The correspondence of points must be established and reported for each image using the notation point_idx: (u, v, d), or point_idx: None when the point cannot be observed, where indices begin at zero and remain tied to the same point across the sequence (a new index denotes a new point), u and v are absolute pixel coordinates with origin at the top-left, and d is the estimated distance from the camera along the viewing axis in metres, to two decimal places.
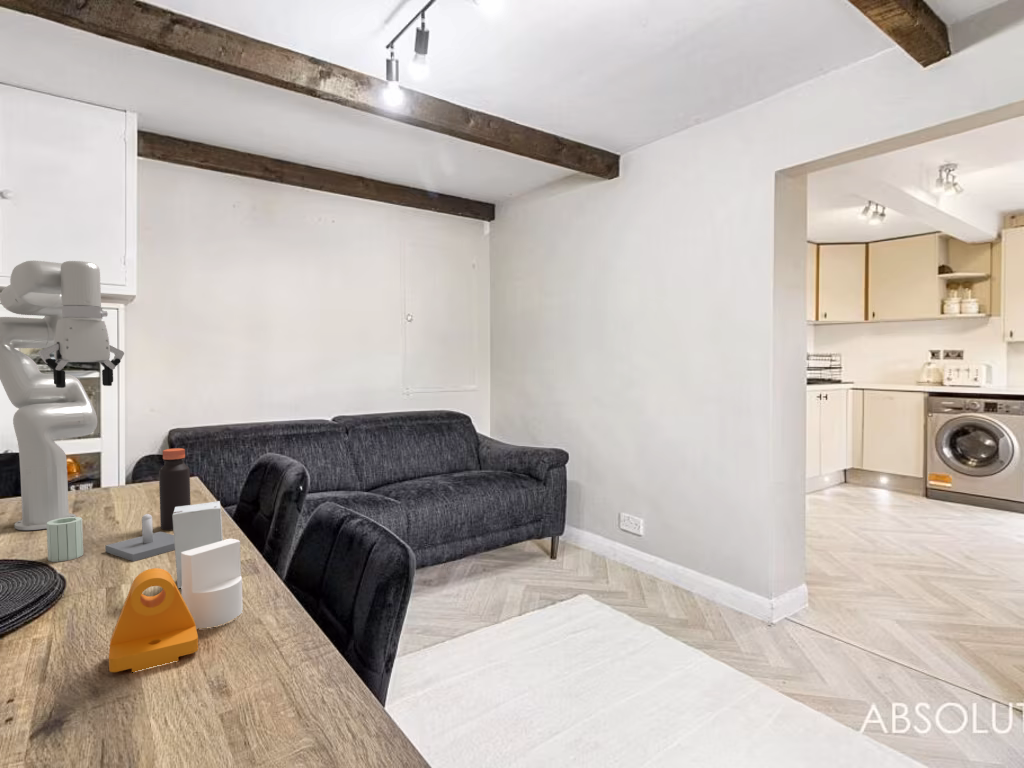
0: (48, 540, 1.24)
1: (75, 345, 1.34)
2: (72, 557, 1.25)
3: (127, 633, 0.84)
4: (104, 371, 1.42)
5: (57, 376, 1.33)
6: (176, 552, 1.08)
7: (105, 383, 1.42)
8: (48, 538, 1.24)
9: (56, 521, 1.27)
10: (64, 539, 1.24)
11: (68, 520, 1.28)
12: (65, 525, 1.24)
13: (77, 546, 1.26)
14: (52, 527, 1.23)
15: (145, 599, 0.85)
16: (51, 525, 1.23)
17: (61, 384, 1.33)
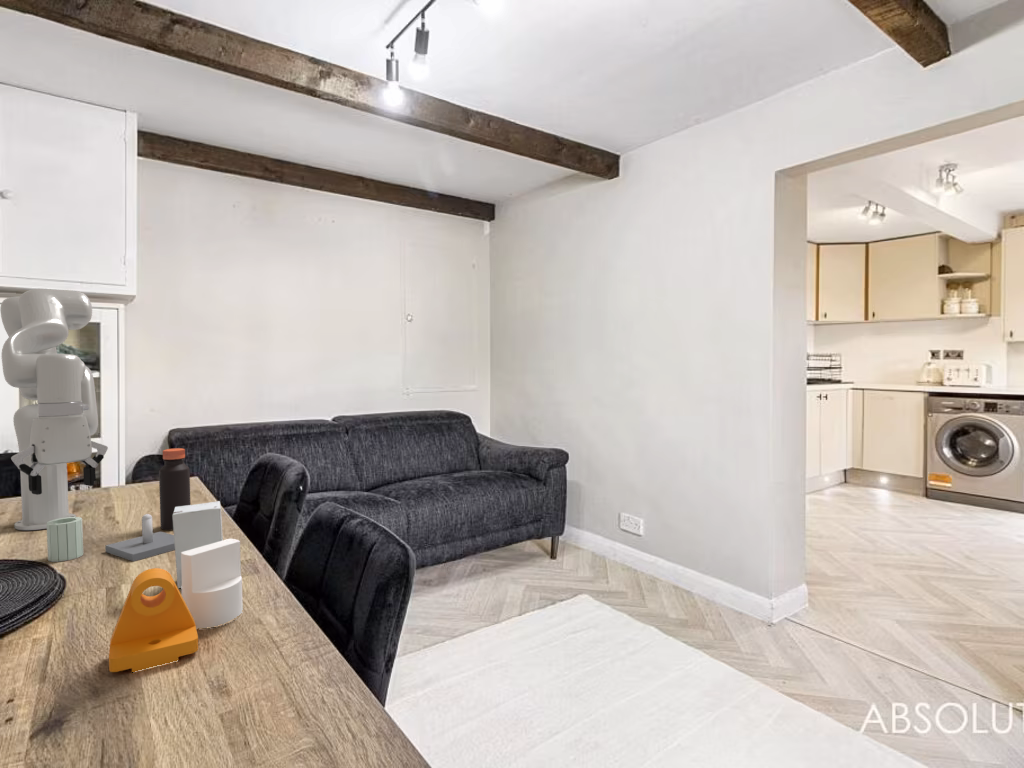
0: (48, 540, 1.24)
1: (53, 446, 1.22)
2: (72, 557, 1.25)
3: (127, 633, 0.84)
4: (85, 470, 1.30)
5: (32, 482, 1.20)
6: (176, 552, 1.08)
7: (87, 483, 1.29)
8: (48, 538, 1.24)
9: (56, 521, 1.27)
10: (64, 539, 1.24)
11: (68, 520, 1.28)
12: (65, 525, 1.24)
13: (77, 546, 1.26)
14: (52, 527, 1.23)
15: (145, 599, 0.85)
16: (51, 525, 1.23)
17: (37, 491, 1.21)
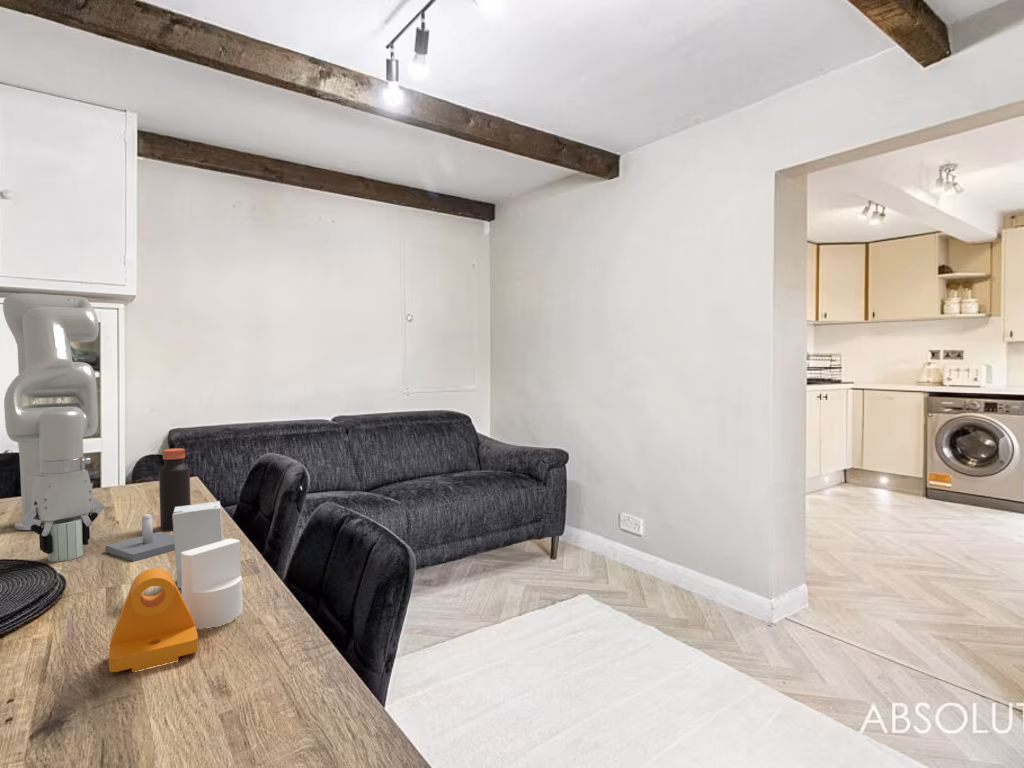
0: None
1: (55, 503, 1.23)
2: (72, 557, 1.25)
3: (127, 633, 0.84)
4: None
5: (43, 542, 1.23)
6: (176, 552, 1.08)
7: None
8: None
9: (56, 521, 1.27)
10: (64, 539, 1.24)
11: (68, 520, 1.28)
12: (65, 525, 1.24)
13: (77, 546, 1.26)
14: (52, 527, 1.23)
15: (145, 599, 0.85)
16: None
17: (48, 550, 1.23)
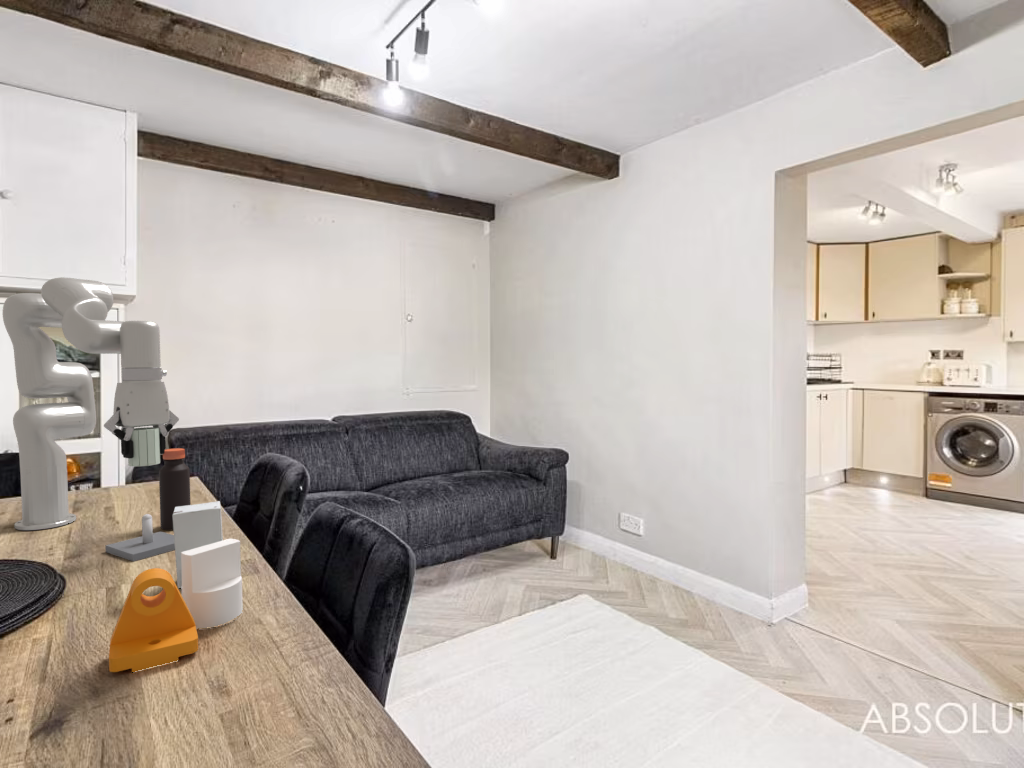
0: None
1: (136, 409, 1.27)
2: (151, 463, 1.29)
3: (127, 633, 0.84)
4: None
5: (125, 446, 1.27)
6: (176, 552, 1.08)
7: None
8: None
9: (135, 429, 1.31)
10: (144, 445, 1.28)
11: (146, 429, 1.32)
12: (145, 431, 1.28)
13: (156, 453, 1.30)
14: (133, 433, 1.28)
15: (145, 599, 0.85)
16: None
17: (129, 455, 1.27)
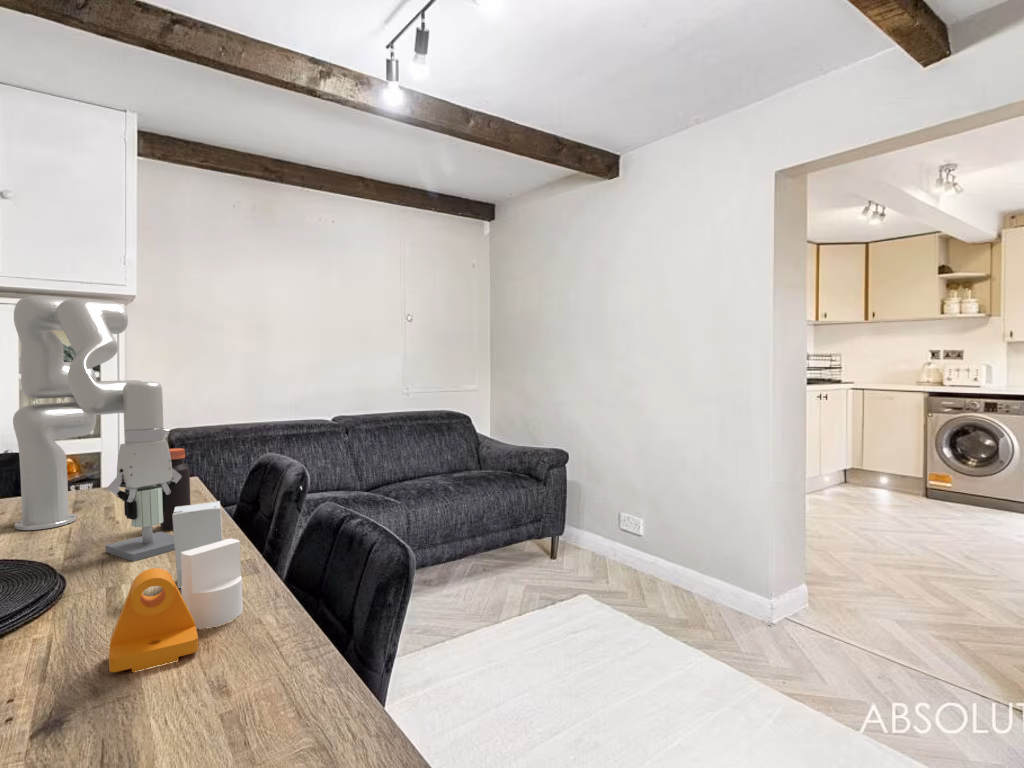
0: None
1: (139, 471, 1.28)
2: (155, 523, 1.30)
3: (127, 633, 0.84)
4: None
5: (128, 508, 1.27)
6: (176, 552, 1.08)
7: None
8: None
9: (138, 489, 1.32)
10: (148, 505, 1.29)
11: (149, 488, 1.33)
12: (148, 492, 1.29)
13: (159, 513, 1.31)
14: (136, 494, 1.28)
15: (145, 599, 0.85)
16: None
17: (132, 516, 1.28)
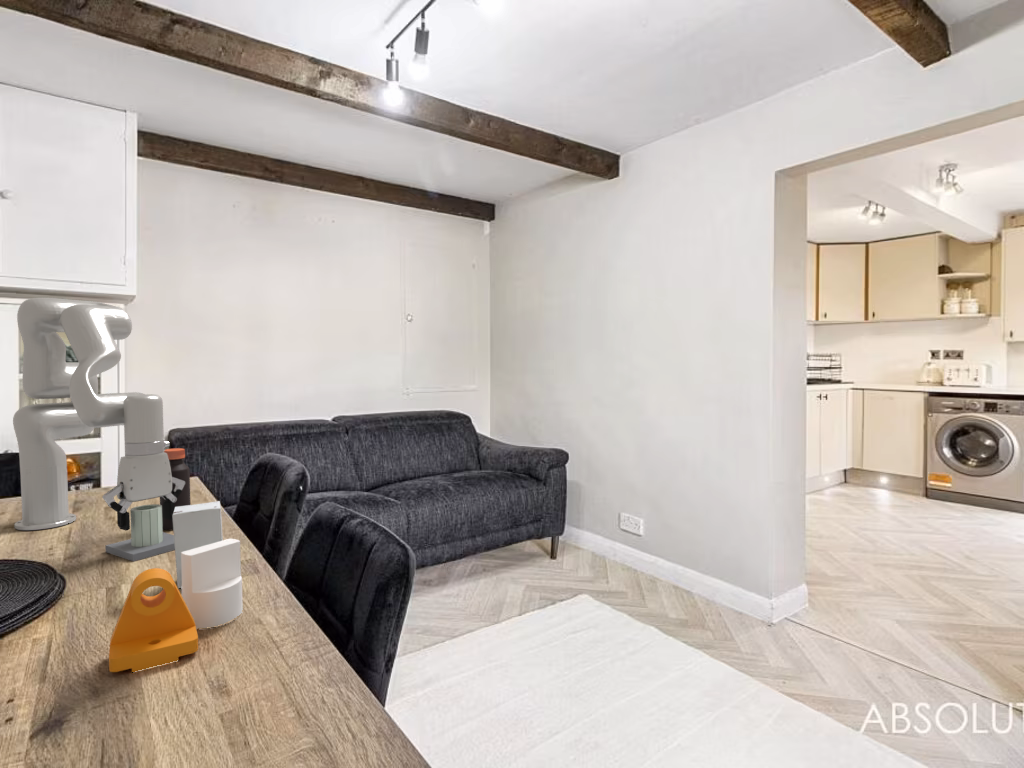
0: (132, 526, 1.29)
1: (139, 484, 1.28)
2: (154, 542, 1.30)
3: (127, 633, 0.84)
4: (165, 504, 1.35)
5: (121, 519, 1.26)
6: (176, 552, 1.08)
7: (166, 517, 1.35)
8: (132, 524, 1.29)
9: (138, 508, 1.32)
10: (147, 525, 1.29)
11: (148, 507, 1.33)
12: (148, 512, 1.29)
13: (159, 532, 1.31)
14: (136, 513, 1.28)
15: (145, 599, 0.85)
16: (135, 511, 1.29)
17: (125, 527, 1.27)
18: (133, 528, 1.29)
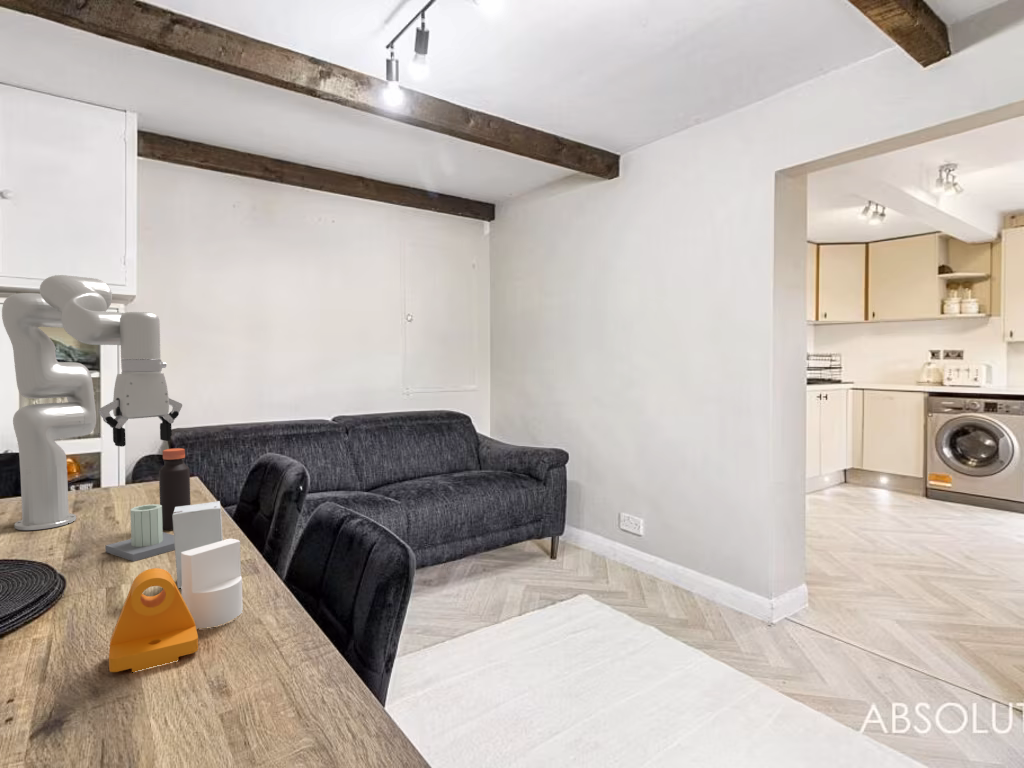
0: (132, 526, 1.29)
1: (136, 401, 1.27)
2: (154, 542, 1.30)
3: (127, 633, 0.84)
4: (162, 425, 1.35)
5: (117, 434, 1.25)
6: (176, 552, 1.08)
7: (163, 438, 1.35)
8: (132, 524, 1.29)
9: (138, 508, 1.32)
10: (147, 525, 1.29)
11: (148, 507, 1.33)
12: (148, 512, 1.29)
13: (159, 532, 1.31)
14: (136, 513, 1.28)
15: (145, 599, 0.85)
16: (135, 511, 1.29)
17: (121, 443, 1.26)
18: (133, 528, 1.29)
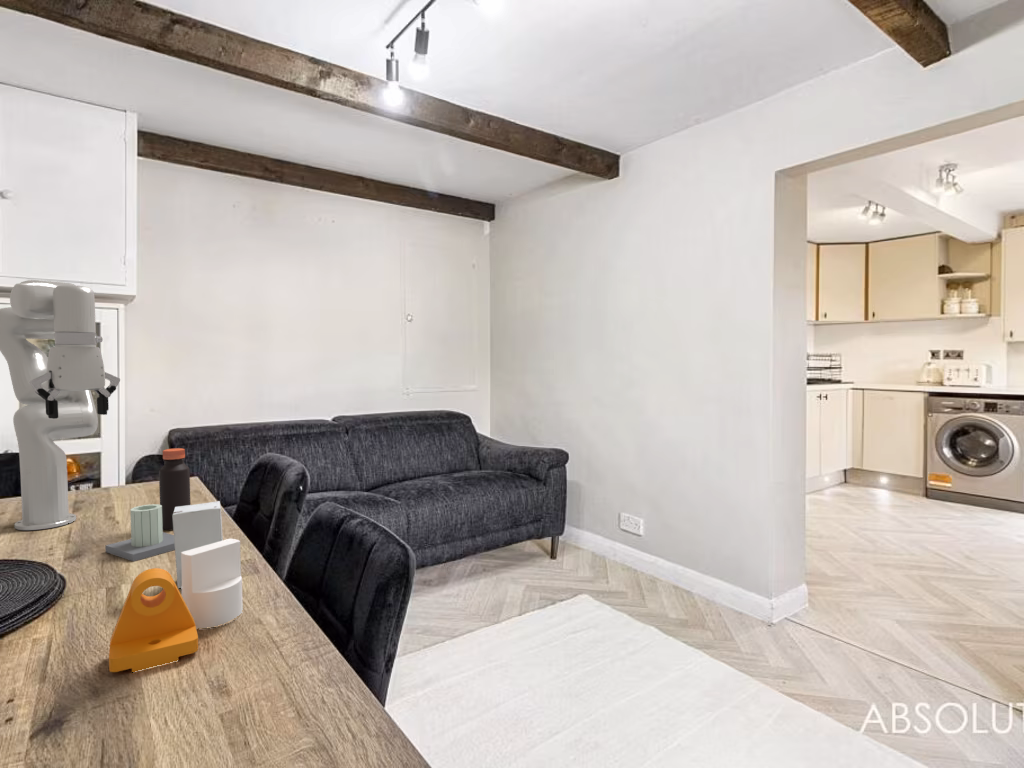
0: (132, 526, 1.29)
1: (69, 373, 1.28)
2: (154, 542, 1.30)
3: (127, 633, 0.84)
4: (99, 399, 1.35)
5: (49, 406, 1.26)
6: (176, 552, 1.08)
7: (100, 412, 1.35)
8: (132, 524, 1.29)
9: (138, 508, 1.32)
10: (147, 525, 1.29)
11: (148, 507, 1.33)
12: (148, 512, 1.29)
13: (159, 532, 1.31)
14: (136, 513, 1.28)
15: (145, 599, 0.85)
16: (135, 511, 1.29)
17: (53, 415, 1.27)
18: (133, 528, 1.29)
